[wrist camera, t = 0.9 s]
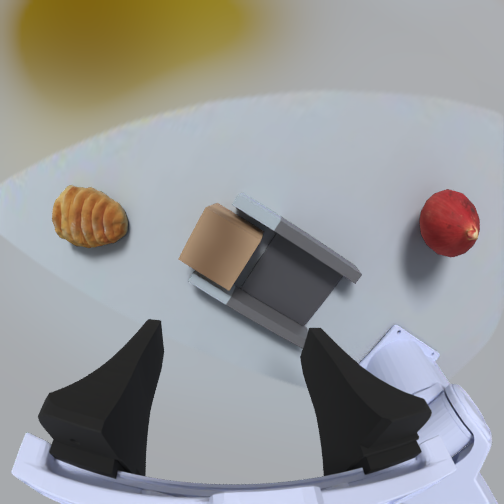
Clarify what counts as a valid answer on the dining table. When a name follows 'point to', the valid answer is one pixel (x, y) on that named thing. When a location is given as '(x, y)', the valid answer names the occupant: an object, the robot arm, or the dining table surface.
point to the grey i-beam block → (283, 277)
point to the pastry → (88, 217)
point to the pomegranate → (449, 223)
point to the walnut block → (221, 245)
